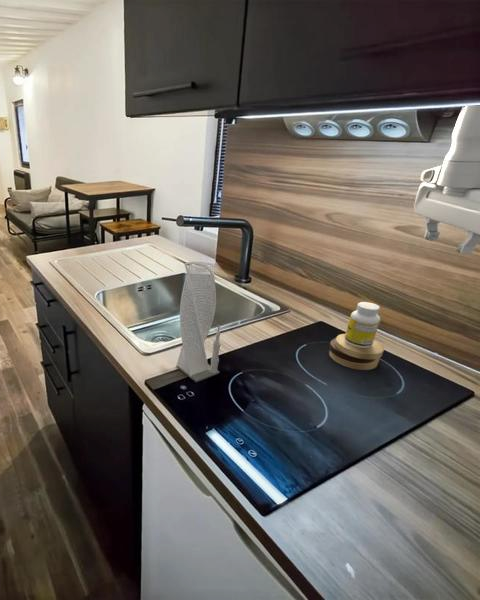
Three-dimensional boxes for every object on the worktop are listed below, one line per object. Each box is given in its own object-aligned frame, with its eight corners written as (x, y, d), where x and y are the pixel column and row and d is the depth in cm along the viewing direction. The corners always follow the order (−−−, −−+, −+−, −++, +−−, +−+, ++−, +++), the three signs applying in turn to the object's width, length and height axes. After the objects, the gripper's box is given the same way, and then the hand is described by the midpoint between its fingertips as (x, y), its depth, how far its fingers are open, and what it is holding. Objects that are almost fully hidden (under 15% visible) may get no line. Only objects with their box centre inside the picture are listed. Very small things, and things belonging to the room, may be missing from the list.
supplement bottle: (346, 334, 89) (357, 298, 85) (374, 341, 86) (386, 304, 82) (341, 343, 86) (351, 306, 82) (369, 351, 83) (381, 313, 78)
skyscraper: (191, 384, 83) (201, 268, 71) (168, 366, 89) (174, 257, 78) (219, 373, 86) (233, 260, 74) (195, 356, 92) (205, 250, 81)
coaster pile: (364, 348, 91) (369, 332, 90) (387, 371, 83) (393, 354, 81) (321, 346, 93) (325, 331, 91) (339, 369, 84) (343, 352, 83)
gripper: (543, 182, 59) (509, 262, 65) (450, 169, 78) (430, 232, 83) (497, 184, 61) (467, 262, 66) (416, 171, 79) (398, 233, 84)
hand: (446, 246), depth 75 cm, fingers open, 8 cm apart
